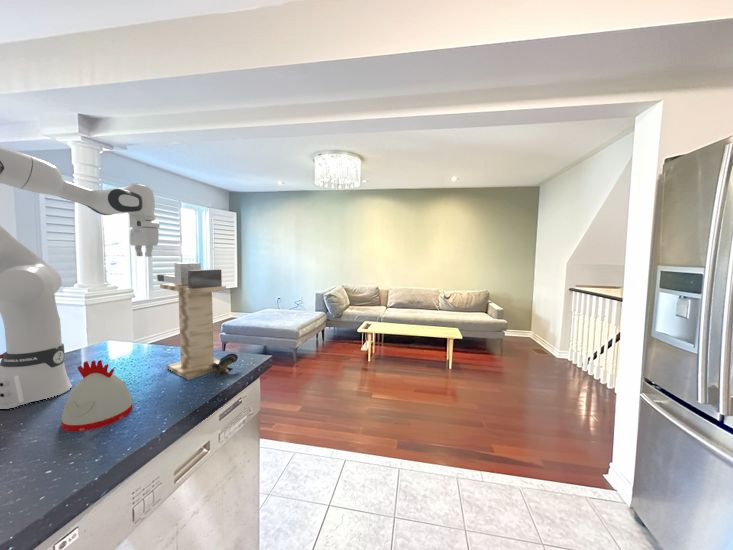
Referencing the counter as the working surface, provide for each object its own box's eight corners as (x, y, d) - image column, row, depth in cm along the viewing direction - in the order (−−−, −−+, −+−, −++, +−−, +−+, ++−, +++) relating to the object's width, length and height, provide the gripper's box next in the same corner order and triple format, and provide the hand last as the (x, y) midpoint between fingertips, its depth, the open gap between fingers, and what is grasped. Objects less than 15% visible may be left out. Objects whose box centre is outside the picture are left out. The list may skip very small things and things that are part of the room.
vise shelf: (160, 365, 114) (156, 268, 111) (198, 355, 125) (195, 267, 123) (190, 381, 100) (187, 271, 97) (230, 368, 112) (228, 269, 109)
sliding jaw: (151, 281, 123) (150, 261, 123) (170, 280, 129) (169, 261, 128) (181, 285, 108) (180, 263, 108) (201, 284, 114) (200, 263, 113)
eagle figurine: (232, 375, 103) (243, 361, 112) (219, 359, 102) (231, 346, 110) (215, 385, 104) (227, 370, 113) (202, 369, 103) (215, 356, 111)
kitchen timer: (91, 404, 85) (89, 352, 84) (144, 402, 86) (141, 351, 85) (45, 433, 71) (40, 372, 70) (108, 430, 73) (104, 370, 72)
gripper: (124, 224, 130) (126, 256, 131) (143, 222, 119) (144, 256, 120) (141, 225, 136) (143, 256, 137) (161, 223, 124) (162, 256, 125)
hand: (143, 256), depth 128 cm, fingers open, 8 cm apart
